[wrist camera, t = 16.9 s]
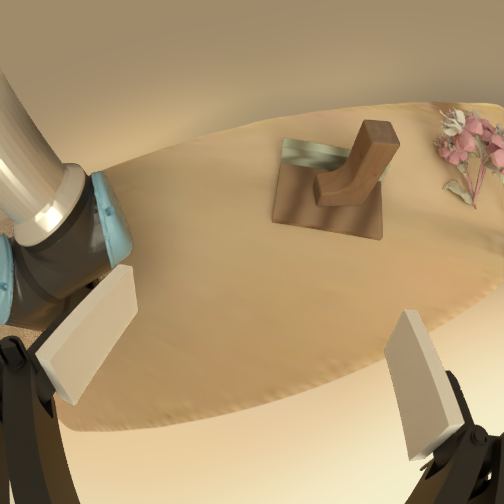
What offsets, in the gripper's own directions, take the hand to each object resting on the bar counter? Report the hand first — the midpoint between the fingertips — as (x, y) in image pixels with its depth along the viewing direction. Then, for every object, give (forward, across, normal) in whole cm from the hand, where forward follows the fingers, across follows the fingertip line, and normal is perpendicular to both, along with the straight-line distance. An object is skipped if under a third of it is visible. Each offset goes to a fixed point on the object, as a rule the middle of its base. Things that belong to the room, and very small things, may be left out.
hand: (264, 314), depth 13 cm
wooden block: (+41, +10, -4) cm, 42 cm away
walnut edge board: (+42, +9, -4) cm, 43 cm away
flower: (+53, +39, +6) cm, 66 cm away
